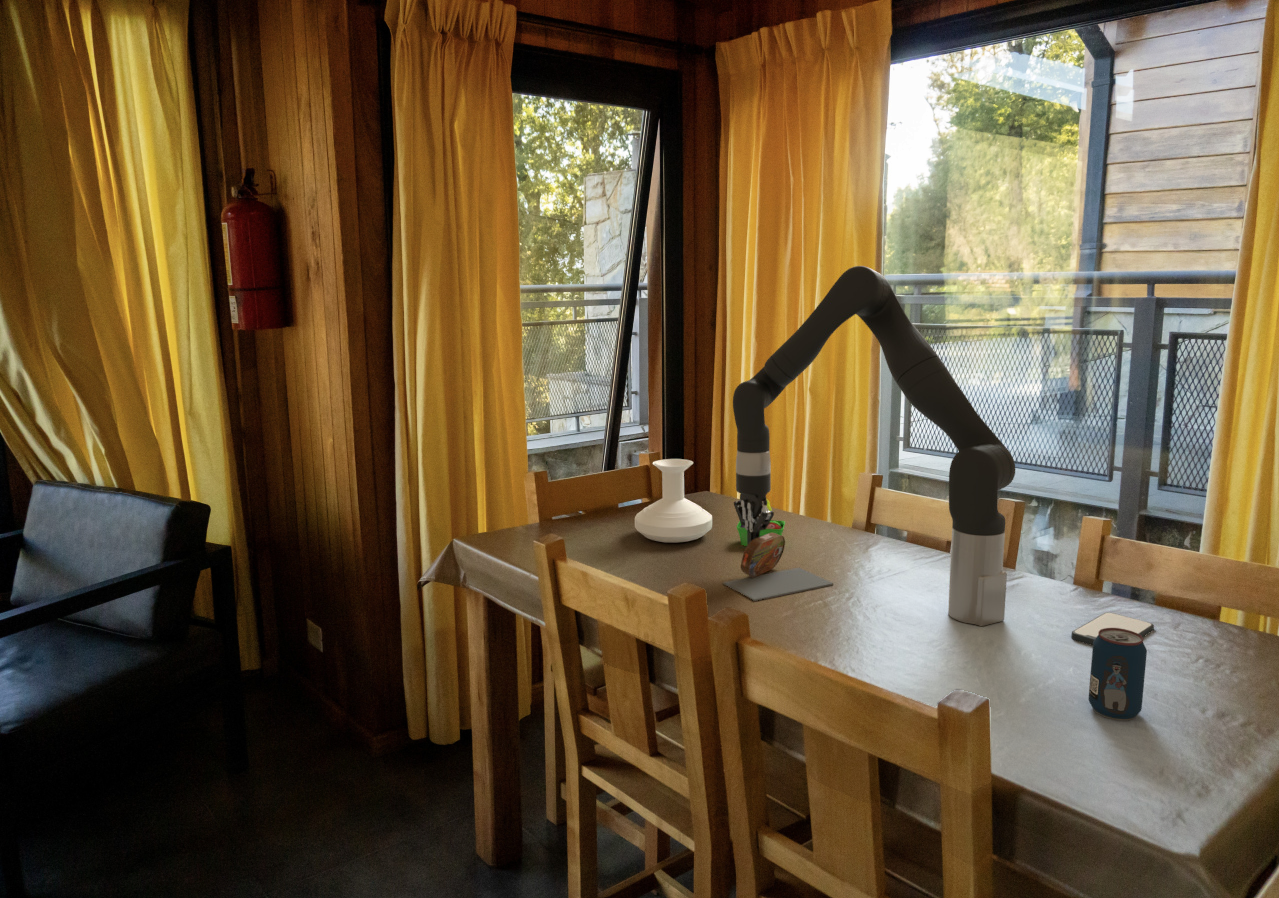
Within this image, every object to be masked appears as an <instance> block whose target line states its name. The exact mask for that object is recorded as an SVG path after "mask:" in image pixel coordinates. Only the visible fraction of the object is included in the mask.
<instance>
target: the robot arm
mask: <svg viewBox="0 0 1279 898" xmlns="http://www.w3.org/2000/svg"><path fill="white" fill-rule="evenodd" d="M855 315H857V316H858V317H859V318H860V319H861V320H862V321H863V322H864V324H865V325H866V327H867V328H868V329H869V330H870V331H871V333H872V334H873V335H874V337H875V338H876V340H877V342H878V343H879V345H880V347H881V350H882V352H883V355H884V359H885V362H886V364H887V367H888V370H889V372H890V374H891V376H892V378H893V380H894V382H895V383H896V384H897V386H898V387H899V388H900V391H901V392H902V394H903V395H904V397H906V400H907V401H908V402H909V403H910V404H911V406H912V407H913V408H915V410H917V411H918V412H919V413H920V414H922V415H923V416H924V417H925V418H927V420H929V421H931V422H932V423H933V424H935V425H936V426H937V427H938V428H939V429H941V430H942V432H944V433H945V435H946V436H948V438H949V439H950V440H951V442H952V443H953V445H954V446H955V448H956V449H957V451H958V452H957V453H955V455H954V456H953V457H952V459H951V462H950V465H949V466H950V467H949V472H948V473H949V474H948V510H949V511H948V512H949V513H950V516H951V520H952V521H951V522H952V525H951V526H952V527H951V528H952V529H951V530H952V531H951V543H950V545H951V546H950V548H951V549H950V565H949V566H950V567H949V568H950V569H949V584H948V585H949V586H948V587H949V589H948V611H947V614H948V615H949V616H950V617H951V618H952V619H953V620H956V621H959V622H961V623H964V624H965V623H966V624H970V625H977V626H979V627H984V626H988V625H991V624H995V623H999V622H1004V621H1005V614H1006V613H1005V611H1006V596H1007V579H1008V573H1007V572H1006V571H1004V570H1003V569H1004V568H1003V567H1004V554H1005V553H1004V550H1005V536H1006V534H1005V533H1006V517H1005V516H1004V514H1003V513H1000V512H999V507H998V496H999V494H998V491H1000V490H1002V489H1004V488H1006V487H1008V486H1009V485H1010V484H1011V483H1012V482H1013V480H1014V478H1015V475H1016V463H1015V460H1014V457H1013V455H1012V453H1011V452H1010V450H1009V449H1008V448H1007V446H1005V444H1004V443H1003V442H1002V440H1000V439H999V437H998V436H997V435H996V433H994V432H993V431H992V429H991V428H990V427H989V426H988V425H987V423H986V422H985V421H984V420H983V419H982V417H981V416H980V415H979V414H978V412H977V411H976V410H975V408H974V406H973V405H972V404H971V402H970V400H969V399H968V398H967V396H966V394H965V393H964V392H963V390H962V389H961V388H960V386H959V384H958V383H957V382H956V380H955V379H954V377H953V376H952V374H951V373H950V371H949V370H948V368H947V366H946V365H945V364H944V363H943V360H941V358H940V357H939V355H938V354H937V352H936V351H935V350H934V349H933V347H932V346H931V345H930V343H929V342H928V341H927V340H926V338H925V337H924V336H923V335H922V333H921V332H920V331H919V330H918V328H917V327H916V326H915V325H914V324H913V323H912V321H911V320H910V319H909V317H908V316H907V313H906V312H905V310H904V309H903V307H902V305H901V302H900V301H899V299H898V298H897V295H896V293H895V292H894V290H893V288H892V286H891V283H889V281H888V279H887V278H886V277H885V276H884V275H883V274H882V273H880V272H878V271H876V270H874V269H872V268H871V267H868V266H864V265H857V266H856V265H855V266H852V267H849V268H848V269H847V270H845V271H844V272H843V273H842V274H841V275H840V276H839V277H838V279H837V280H836V282H834V284H833V285H832V286H831V288H830V289H829V290H828V292H827V293H826V295H825V296H824V297H823V299H822V300H821V301H820V303H818V305H817V306H816V308H815V309H814V310H813V311H812V313H810V315H809V316H808V318H806V319H805V320H804V322H803V323H802V324H801V326H800V327H798V329H797V330H796V331H795V332H794V333H793V334H792V335H791V336H790V337H789V338H788V339H787V340H786V341H785V342H784V343H782V344H781V345H780V346H779V348H778V349H777V350H776V351H775V352H773V353H772V354H771V355H770V356H769V357H768V358H767V360H766V361H765V363H764V365H763V367H762V368H761V369H760V370H759V371H758V372H756V374H755V375H754V376H753V377H752V378H751V379H749V380H746V381H743V382H741V383H739V384H738V385H737V386H736V387H735V390H734V392H733V397H732V411H733V416H734V421H735V426H736V432H737V433H736V459H735V490H736V492H737V493H738V494H739V499H738V500H737V501H735V500H734V502H733V506H734V509H735V512H736V514H737V517H738V519H739V520H738V521H740V523H741V525H742V526H745V529H746V530H747V545H748V544H749V543H750V542H751V541H752V540H753V539H755V538H758V537H760V531H761V530H765V529H766V528H767V526H768V524H769V523H770V521H771V520H772V519H773V517H774V515H775V512H774V511H773V510H772V511H769V510H768V508H767V500H768V499H767V494H769V493H770V492H771V483H772V480H771V478H772V477H771V476H772V475H771V469H772V467H771V465H772V464H771V454H770V452H771V451H770V429H769V427H768V425H767V424H766V421H765V420H766V419H765V409H766V408H767V407H769V406H770V405H771V404H773V402H774V401H775V400H776V399H777V398H778V397H779V395H781V393H782V392H783V391H784V390H785V388H786V387H787V386H788V385H789V384H791V383H792V382H793V381H794V380H796V379H797V378H798V376H800V375H801V374H802V373H803V372H804V371H805V370H806V369H807V368H808V367H809V366H810V365H811V364H812V363H813V362H814V361H815V360H816V358H817V357H818V356H819V354H820V353H821V351H822V349H823V347H824V346H825V344H826V342H828V341H829V339H830V337H831V336H832V334H833V333H835V331H836V330H838V328H840V327H841V325H843V324H844V323H845V322H847V321H848V320H849V319H851V318H852V317H853V316H855Z"/></svg>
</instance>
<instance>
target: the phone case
mask: <svg viewBox="0 0 1279 898" xmlns="http://www.w3.org/2000/svg"><path fill="white" fill-rule="evenodd" d="M1104 628H1120V629H1126V630H1130V631H1133V632H1135V633H1137V634H1139V635H1141V636H1142V637H1143V638H1145V637H1146V636H1147V635H1149V634H1150V633H1151V631H1152V630H1153V629H1154V628H1155V626H1154V624H1153V623H1151V622H1149V621H1145V620H1140V619H1137V618H1133V617H1128V616H1126V615H1122V614H1117V613H1114V612H1104V613H1102V614H1100V615H1099V616H1097V617H1095V618H1093V619H1092V620H1090V621H1088V622H1086V623H1084V624H1083V625H1080V626H1079V627H1078V628H1076V629H1073V630H1072V631H1071V636H1070V637H1071V640H1074V641H1075V640H1076V641H1075V642H1079V641H1080V642H1079V643H1082V642H1084V643H1083V644H1086V643H1087V644H1086V645H1089V644H1091V645H1090V646H1093V641H1094V640H1095V639H1096V637H1097V636H1098V633H1099V631H1100V630H1101V629H1104ZM1153 631H1154V630H1153ZM1153 631H1152V632H1153ZM1149 632H1150V633H1149ZM1148 633H1149V634H1148ZM1146 634H1147V635H1146ZM1145 635H1146V636H1145Z"/></svg>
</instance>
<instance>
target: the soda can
mask: <svg viewBox="0 0 1279 898" xmlns="http://www.w3.org/2000/svg"><path fill="white" fill-rule="evenodd" d="M1091 651H1092V652H1091V663H1090V665H1091V666H1090V675H1089V676H1090V677H1089V690H1088V701H1089V704H1090V707H1091V708H1092V710H1093V711H1094V712H1095V713H1096V714H1097V715H1100V716H1101V717H1104V718H1107V719H1109V720H1114V721H1119V722H1120V721H1123V722H1125V721H1130V720H1133V719H1136V717H1137V716H1138V715H1139V714H1140V713H1141V711H1142V709H1143V707H1142V706H1143V696H1144V688H1145V686H1144V685H1145V676H1146V675H1145V674H1146V666H1147V664H1146V663H1147V653H1148V651H1147V647H1146V646H1145V643H1144V637H1142V636H1141V635H1139V634H1137V633H1135V632H1133V631H1130V630H1126V629H1120V628H1104V629H1101V630H1100V631H1099V633H1098V636H1097V637H1096V639H1095V640H1094V641H1093V645H1092V650H1091Z"/></svg>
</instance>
